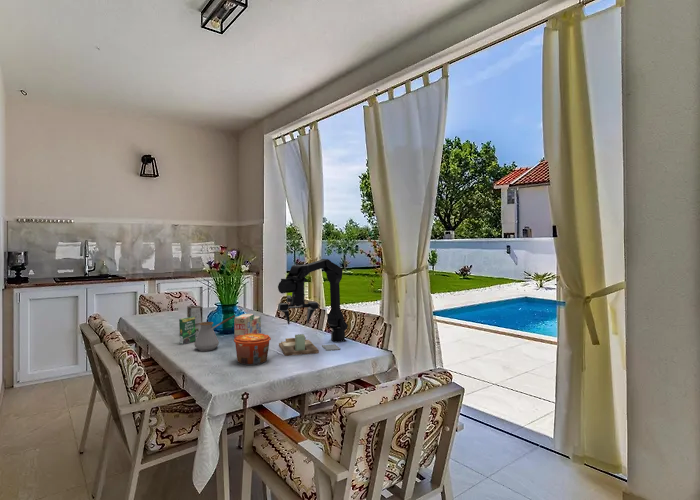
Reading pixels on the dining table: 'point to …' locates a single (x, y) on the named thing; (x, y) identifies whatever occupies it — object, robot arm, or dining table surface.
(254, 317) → the stack of blocks
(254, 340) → the food container
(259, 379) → the dining table surface
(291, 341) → the sliding lid
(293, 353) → the well board
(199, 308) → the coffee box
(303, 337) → the sage block
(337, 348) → the rubber mat
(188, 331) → the coffee box
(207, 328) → the coffee pot
